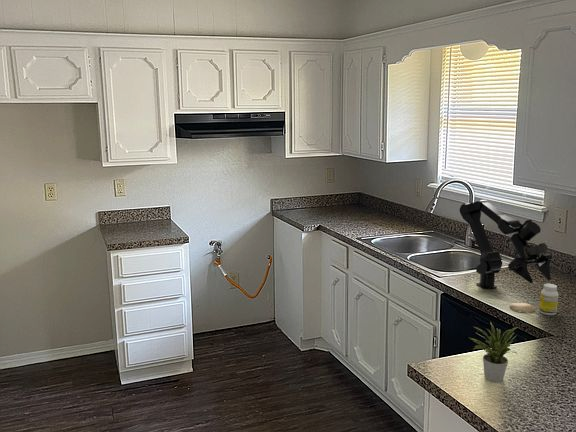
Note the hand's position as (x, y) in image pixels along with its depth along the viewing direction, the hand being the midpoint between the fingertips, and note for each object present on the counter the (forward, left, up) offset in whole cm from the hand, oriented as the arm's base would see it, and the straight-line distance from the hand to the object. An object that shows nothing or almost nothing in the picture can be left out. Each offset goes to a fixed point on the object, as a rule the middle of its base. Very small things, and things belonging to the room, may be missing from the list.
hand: (541, 281), depth 227 cm
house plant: (+46, -48, -11) cm, 68 cm away
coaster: (-2, -6, -11) cm, 13 cm away
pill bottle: (+4, +1, -11) cm, 12 cm away
